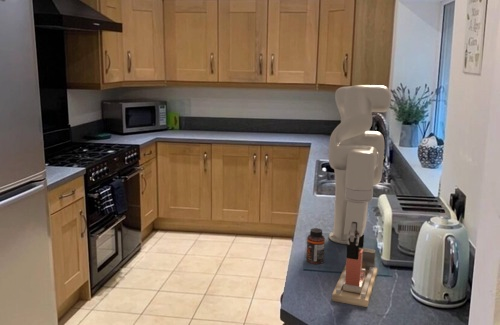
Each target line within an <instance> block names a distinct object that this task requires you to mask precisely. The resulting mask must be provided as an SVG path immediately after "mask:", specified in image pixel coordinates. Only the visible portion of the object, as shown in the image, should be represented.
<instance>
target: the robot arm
mask: <svg viewBox="0 0 500 325" xmlns="http://www.w3.org/2000/svg"><path fill="white" fill-rule="evenodd" d="M334 99H335V104H336V107H337V109H338V110H337V111H338V112H339V115H340V123H339V124H338V125H337V126H336V127H335V128H334V130H333V131H332V132H331V134H330V138H329V144H328V164H329V166H330V168H331V169H333V170H334V181H335V182H334V183H335V184H334V185H335V196H334V198H335V199H334V213H333V214H334V215H333V216H334V217H333V231H331V232H330V233H329V234H328V235H329V236H328V238H329V240H330V241H332V242H334V243H336V244H341V245H346V255H345V256H346V259H347V258H349V259H356V260H358V257H359V248H364V242H365V234H364V233H365V231H366V227H367V221H368V220H367V219H368V204H369V203H371V202H372V201H373V194H374V185H375V186H376V185H378V184H380V183H381V181H382V177H383V170H384V169H383V168H384V156H385V139H384V135H383V134H382V133H381V132H380V131H377V130H376V131H375V130H370V129H371V127H372V126H373V116H372V115H373V113H386V112H387V111H388V110H389V109H390V106H391V104H392V96H391V92H390V89H389V88H388V86H385V85H380V84H379V85H377V84H376V85H375V84H371V85H370V84H357V85H355V84H354V85H352V86H341V87H339V88H337V89H336V90H335V94H334Z"/></svg>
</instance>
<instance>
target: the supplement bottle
mask: <svg viewBox="0 0 500 325" xmlns="http://www.w3.org/2000/svg"><path fill="white" fill-rule="evenodd" d="M309 233H310V234H308V235H307V239H306V240H307V241H306V255H305V256H306V257H305V258H306V259H305V260H306V262H308V263H309V264H311V265H320V264H323V262H324V260H325V242H326V238H325V236H324V235H323V229H321V228H318V227H315V228H314V227H313V228H310V232H309Z"/></svg>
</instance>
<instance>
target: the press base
mask: <svg viewBox="0 0 500 325" xmlns="http://www.w3.org/2000/svg"><path fill="white" fill-rule="evenodd" d="M359 249H361V250H363V256H362V268H363V269H365V280H364V285H363V288H362V291H361V293H355V292H350V291H344V290H343V284H344V281H345V278H346V264H345V265H344V268H343V270H342V272H341V274H340V276H339V278H338V281H337V283H336V284H335V287H334V289H333V292H332V295H331V296H332V297H331V301H332V302H337V303H343V304H348V305H353V306H359V307H365V308H368V307H369V303H370V299H371V296H372V293H373V290H374V286H375V282H376V279H377V277H378V276H377V275H378V267H376V266H375V264H376V251H377V250H376V249H372V248H366V247H363V248H359Z"/></svg>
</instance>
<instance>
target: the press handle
mask: <svg viewBox="0 0 500 325" xmlns="http://www.w3.org/2000/svg"><path fill="white" fill-rule="evenodd" d="M362 256H363V250H361V249H359V257H358V260H356V259H349V258H347V257H346V263H345V265H346V278H345V281H344V284H343V290H344V291H350V292H355V293H361V291H362V288H363V285H364V280H365V269H363V268H362Z"/></svg>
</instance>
